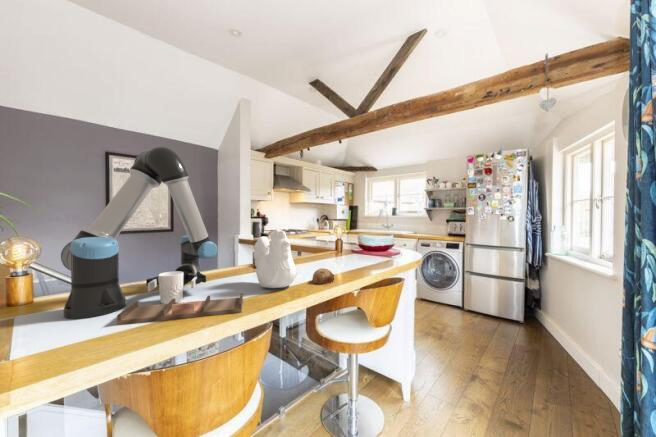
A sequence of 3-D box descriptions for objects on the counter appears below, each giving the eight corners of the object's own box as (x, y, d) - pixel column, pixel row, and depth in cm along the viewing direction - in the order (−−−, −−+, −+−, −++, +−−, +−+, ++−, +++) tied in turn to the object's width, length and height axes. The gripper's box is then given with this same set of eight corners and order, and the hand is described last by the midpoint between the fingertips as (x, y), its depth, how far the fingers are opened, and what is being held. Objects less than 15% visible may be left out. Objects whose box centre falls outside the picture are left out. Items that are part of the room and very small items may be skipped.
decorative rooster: (303, 288, 111) (303, 229, 111) (268, 294, 102) (267, 230, 102) (278, 277, 131) (277, 227, 131) (246, 281, 122) (246, 228, 122)
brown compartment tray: (117, 324, 74) (117, 310, 74) (135, 310, 86) (135, 297, 86) (241, 312, 83) (241, 299, 83) (242, 300, 95) (242, 289, 95)
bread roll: (313, 287, 126) (306, 273, 124) (331, 276, 129) (324, 262, 128) (320, 293, 116) (312, 277, 115) (339, 281, 120) (332, 265, 118)
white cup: (172, 305, 90) (172, 276, 90) (152, 304, 92) (152, 275, 92) (189, 298, 98) (188, 271, 98) (170, 297, 100) (170, 270, 99)
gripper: (216, 280, 117) (209, 293, 97) (152, 284, 110) (129, 299, 90) (216, 263, 117) (209, 272, 97) (151, 266, 110) (129, 277, 90)
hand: (171, 285), depth 93 cm, fingers open, 13 cm apart
